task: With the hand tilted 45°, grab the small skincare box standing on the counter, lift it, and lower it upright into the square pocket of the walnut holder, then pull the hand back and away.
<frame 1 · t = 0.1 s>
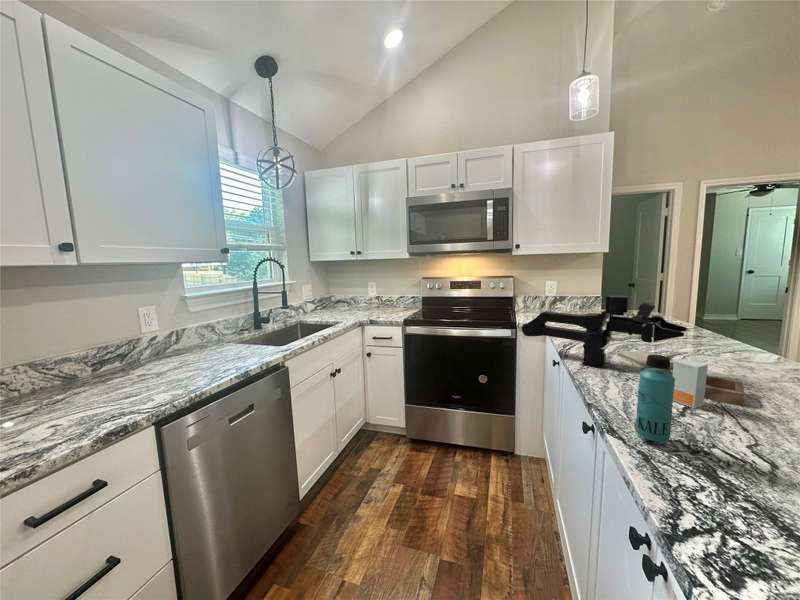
hand: (685, 331, 103), 17 cm above the worktop, tool horizontal, fingers open, 9 cm apart
beverage bottle: (651, 441, 74), on the worktop
walnut holder: (712, 393, 96), on the worktop
washcloth: (646, 363, 125), on the worktop
skincare box: (686, 404, 91), on the worktop
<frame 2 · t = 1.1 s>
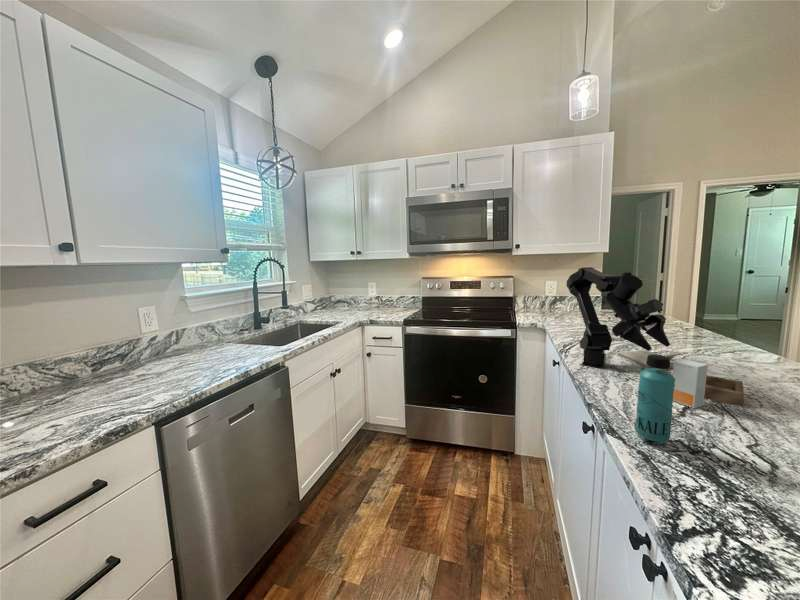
hand: (659, 347, 96), 14 cm above the worktop, tool tilted 45°, fingers open, 9 cm apart
nothing on the worktop moved.
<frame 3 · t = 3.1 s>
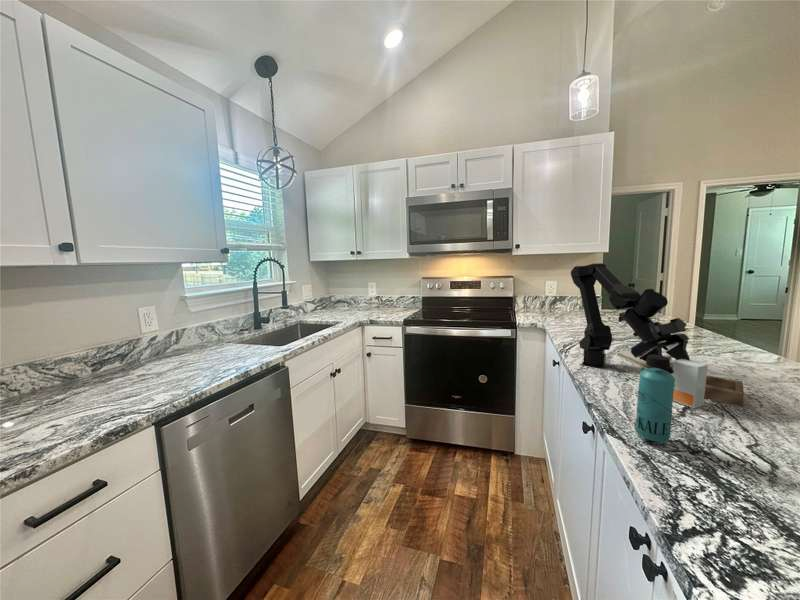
hand: (682, 370, 91), 9 cm above the worktop, tool tilted 45°, fingers open, 9 cm apart
nothing on the worktop moved.
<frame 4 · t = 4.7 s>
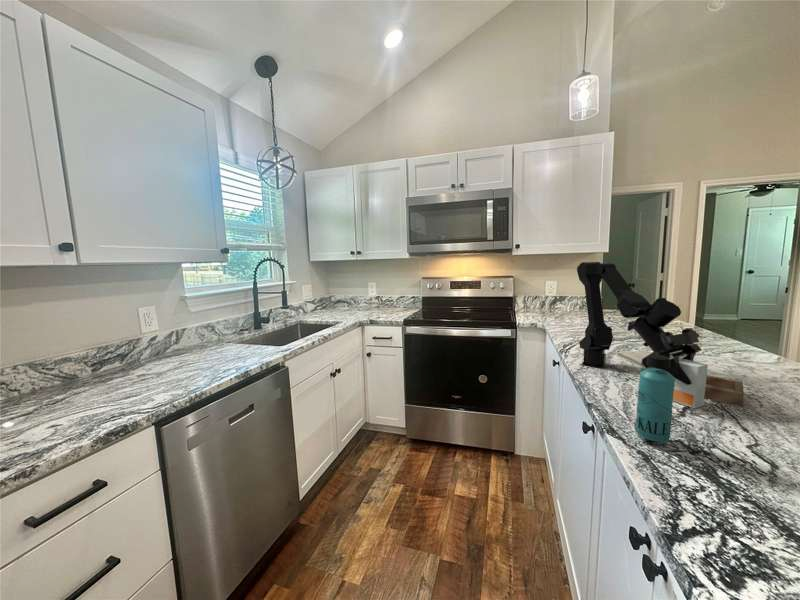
hand: (694, 382, 89), 7 cm above the worktop, tool tilted 45°, fingers closed on skincare box, 4 cm apart
skincare box: (686, 404, 91), on the worktop, touching gripper
everything else where it was.
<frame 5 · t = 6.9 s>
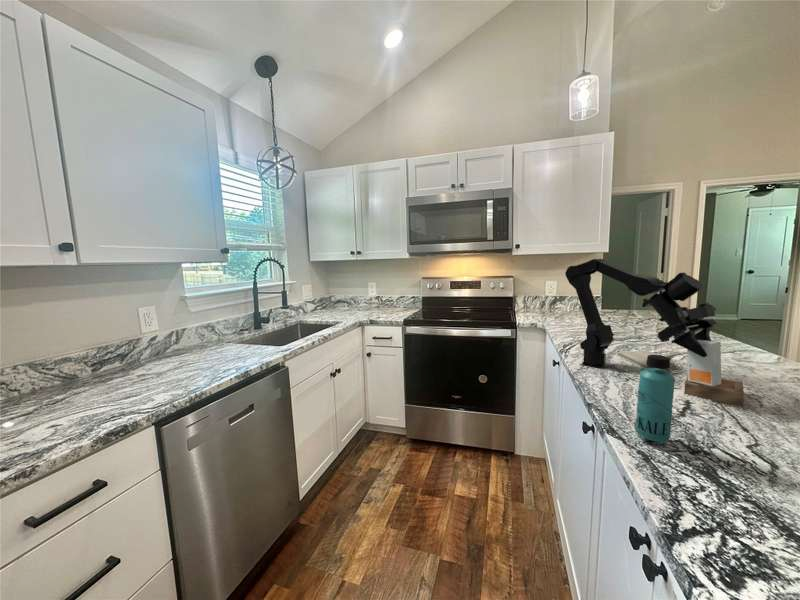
hand: (710, 355, 91), 13 cm above the worktop, tool tilted 45°, fingers closed on skincare box, 4 cm apart
skincare box: (704, 383, 92), point 5 cm above the worktop, touching gripper
everything else where it was.
when the fingers open (9 cm above the worktop, at t = 9.2 s): skincare box stays where it is, resting on walnut holder.
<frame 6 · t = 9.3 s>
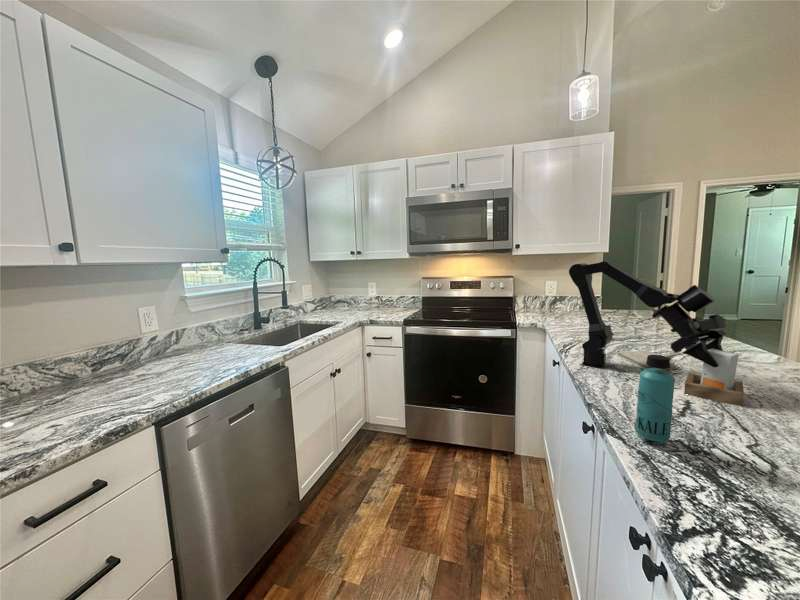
hand: (722, 365, 94), 9 cm above the worktop, tool tilted 45°, fingers open, 5 cm apart
skincare box: (715, 391, 96), point 1 cm above the worktop, touching walnut holder
everything else where it was.
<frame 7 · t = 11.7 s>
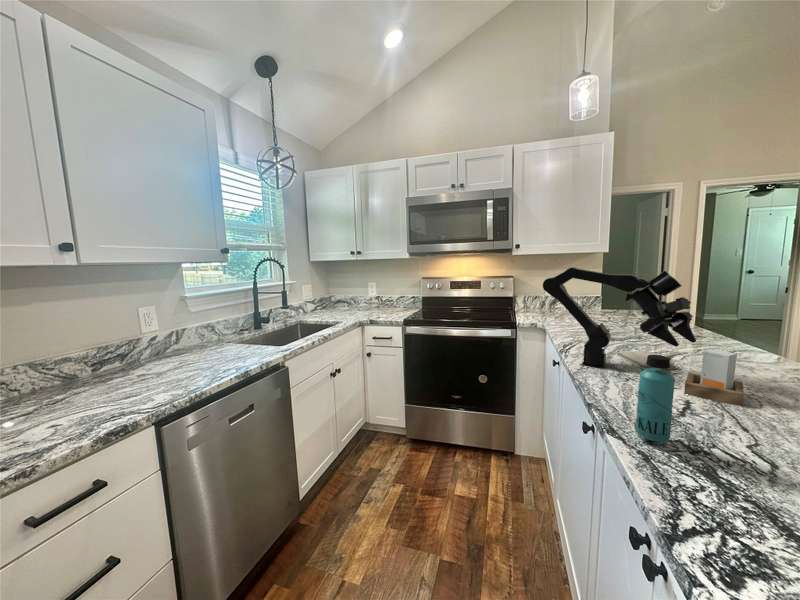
hand: (686, 343, 101), 13 cm above the worktop, tool tilted 45°, fingers open, 9 cm apart
nothing on the worktop moved.
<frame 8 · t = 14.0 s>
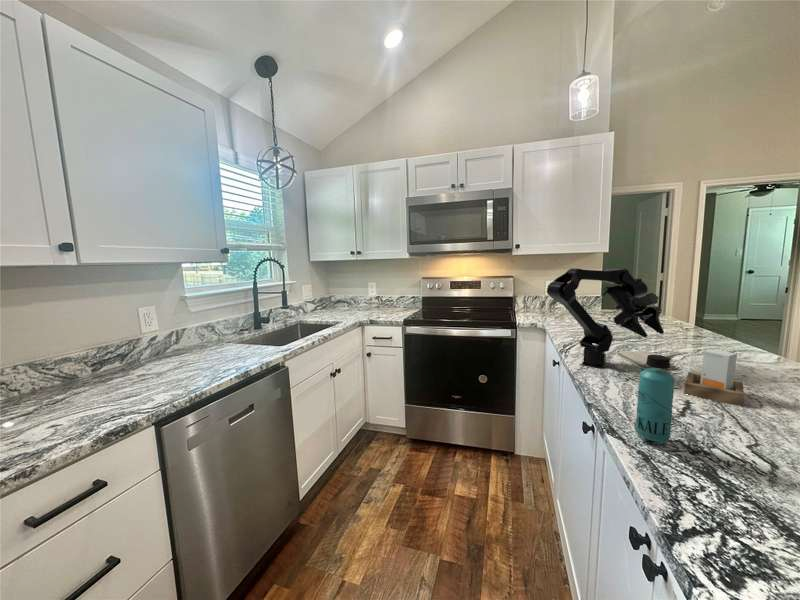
hand: (654, 335, 112), 14 cm above the worktop, tool tilted 45°, fingers open, 9 cm apart
nothing on the worktop moved.
at the end: skincare box 0.7 cm off-centre on the walnut holder, point 0.8 cm above the walnut holder's base; skincare box tilted 0°; the gripper is holding nothing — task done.
